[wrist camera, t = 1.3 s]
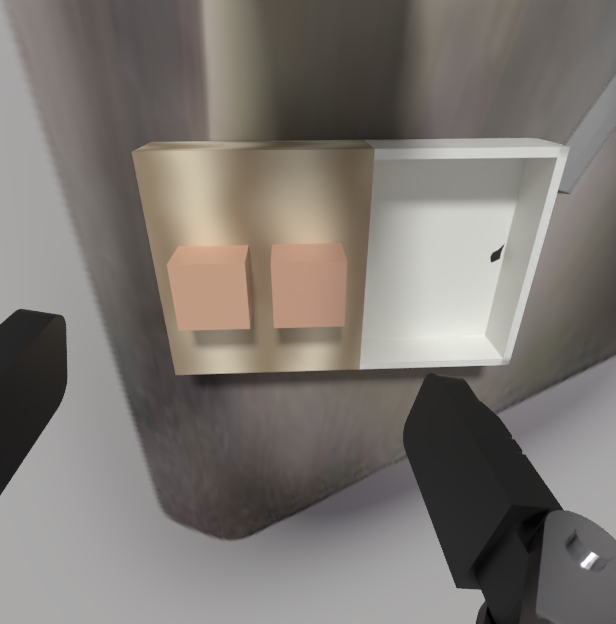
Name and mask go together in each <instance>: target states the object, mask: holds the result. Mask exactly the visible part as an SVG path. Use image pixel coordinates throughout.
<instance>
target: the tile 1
mask: <svg viewBox="0 0 616 624" xmlns="http://www.w3.org/2000/svg"><path fill="white" fill-rule="evenodd" d="M167 270H168V275H169V281H170V286H171V292H172V297H173V303H174V308H175V314H176V319H177V325H178V330H179V331H192V330H229V329H250V327H251V320H252V313H253V294H252V281H251V268H250V255H249V245H222V246H178V247H177V249H176V251H175V252H174V254H173V255H172V257H171V259H170V260H169V262H168V263H167Z"/></svg>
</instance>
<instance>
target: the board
mask: <svg viewBox="0 0 616 624" xmlns="http://www.w3.org/2000/svg"><path fill="white" fill-rule="evenodd" d="M374 153H375V149H374V148H373V147H372V146H371V145H370V144H368V143H367V142H366V141H365V140H289V141H195V142H150V143H148V144H146V145H144V146H142V147H140V148H138V149H136V150H134V151H132V156H133V161H134V166H135V171H136V176H137V181H138V186H139V191H140V196H141V201H142V207H143V212H144V217H145V222H146V227H147V232H148V237H149V242H150V247H151V252H152V257H153V262H154V267H155V272H156V277H157V283H158V288H159V293H160V298H161V303H162V308H163V313H164V318H165V323H166V328H167V333H168V338H169V343H170V348H171V353H172V359H173V364H174V369H175V374H176V375H194V374H226V373H259V372H291V371H324V370H357V369H360V356H361V341H362V327H363V312H364V298H365V283H366V269H367V254H368V240H369V225H370V211H371V196H372V182H373V167H374ZM324 243H342V246H343V249H344V252H345V255H346V258H347V279H346V302H345V324H344V326H340V327H303V328H274V320H273V301H272V281H271V251H272V245H273V244H324ZM222 245H249V255H250V268H251V281H252V294H253V313H252V320H251V327H250V329H229V330H192V331H179V330H178V325H177V319H176V314H175V308H174V303H173V297H172V292H171V286H170V281H169V275H168V270H167V263H168V262H169V260H170V259H171V257H172V255H173V254H174V252H175V251H176V249H177V247H178V246H222Z"/></svg>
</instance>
